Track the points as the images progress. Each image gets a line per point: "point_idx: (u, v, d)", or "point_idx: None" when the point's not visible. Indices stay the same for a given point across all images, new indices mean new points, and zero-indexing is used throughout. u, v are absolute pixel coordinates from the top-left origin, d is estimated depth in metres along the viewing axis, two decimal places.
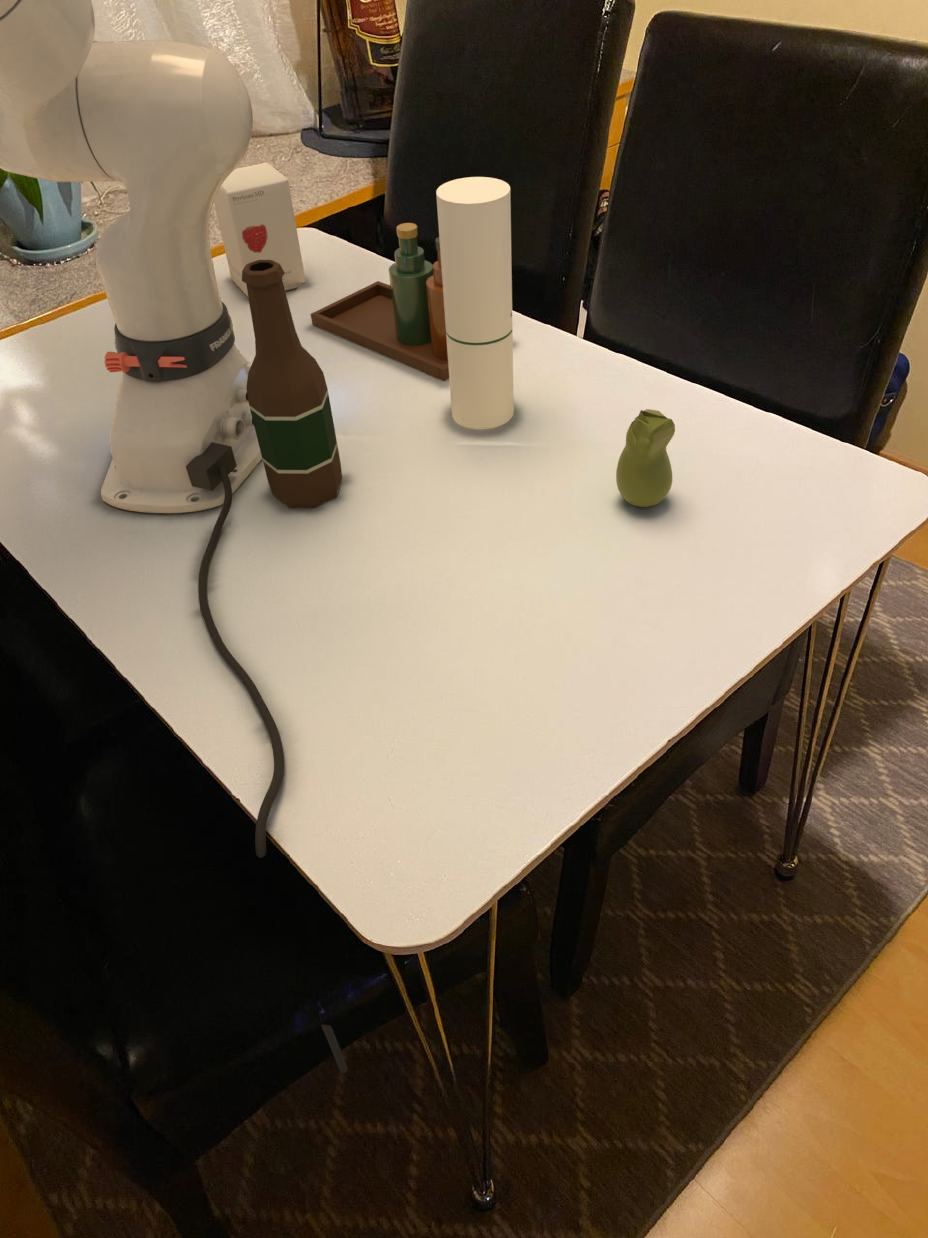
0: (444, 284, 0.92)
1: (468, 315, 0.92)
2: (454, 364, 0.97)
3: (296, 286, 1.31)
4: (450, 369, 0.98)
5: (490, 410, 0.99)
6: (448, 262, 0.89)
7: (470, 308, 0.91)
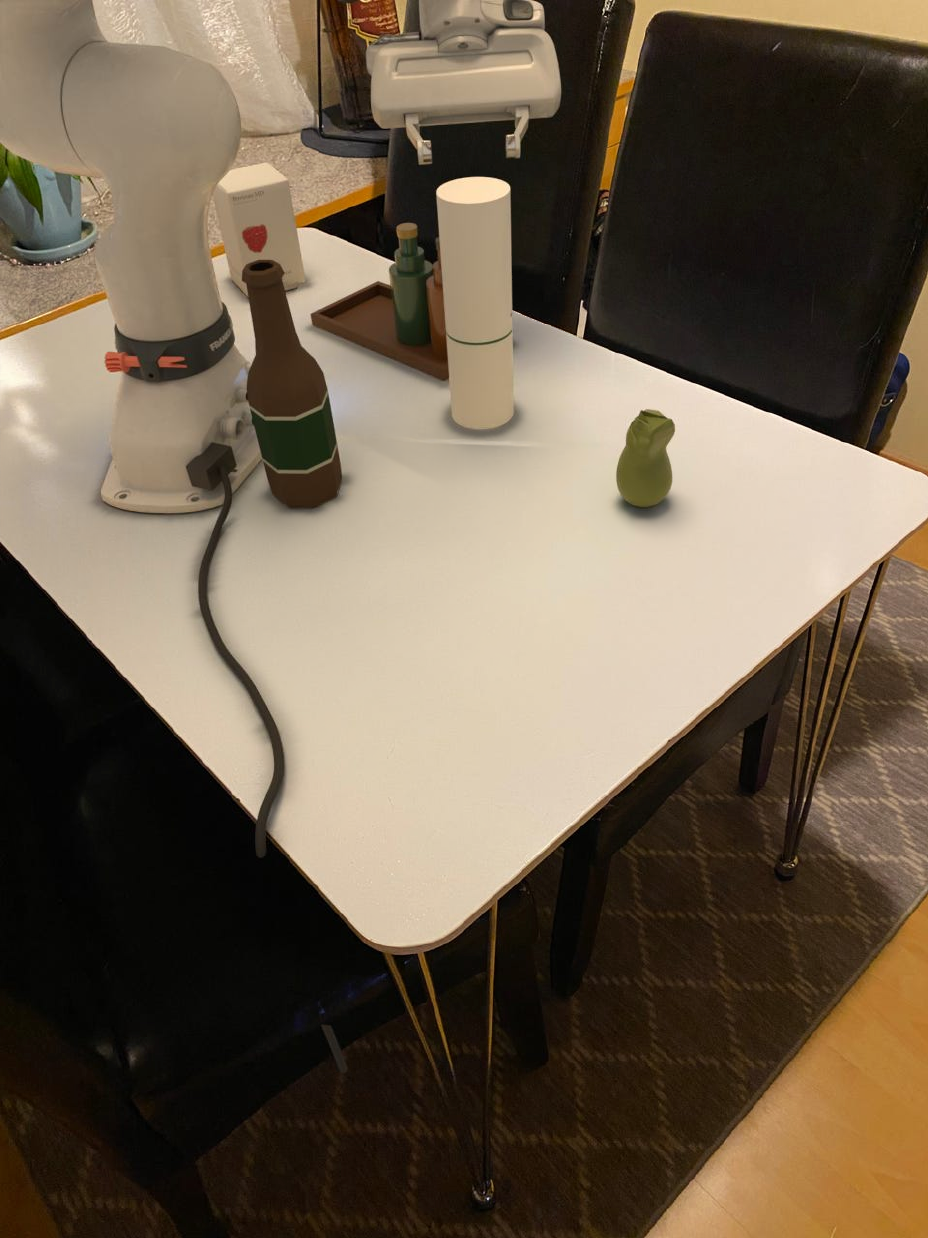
0: (444, 284, 0.92)
1: (468, 315, 0.92)
2: (454, 364, 0.97)
3: (296, 286, 1.31)
4: (450, 369, 0.98)
5: (490, 410, 0.99)
6: (448, 261, 0.89)
7: (470, 308, 0.91)
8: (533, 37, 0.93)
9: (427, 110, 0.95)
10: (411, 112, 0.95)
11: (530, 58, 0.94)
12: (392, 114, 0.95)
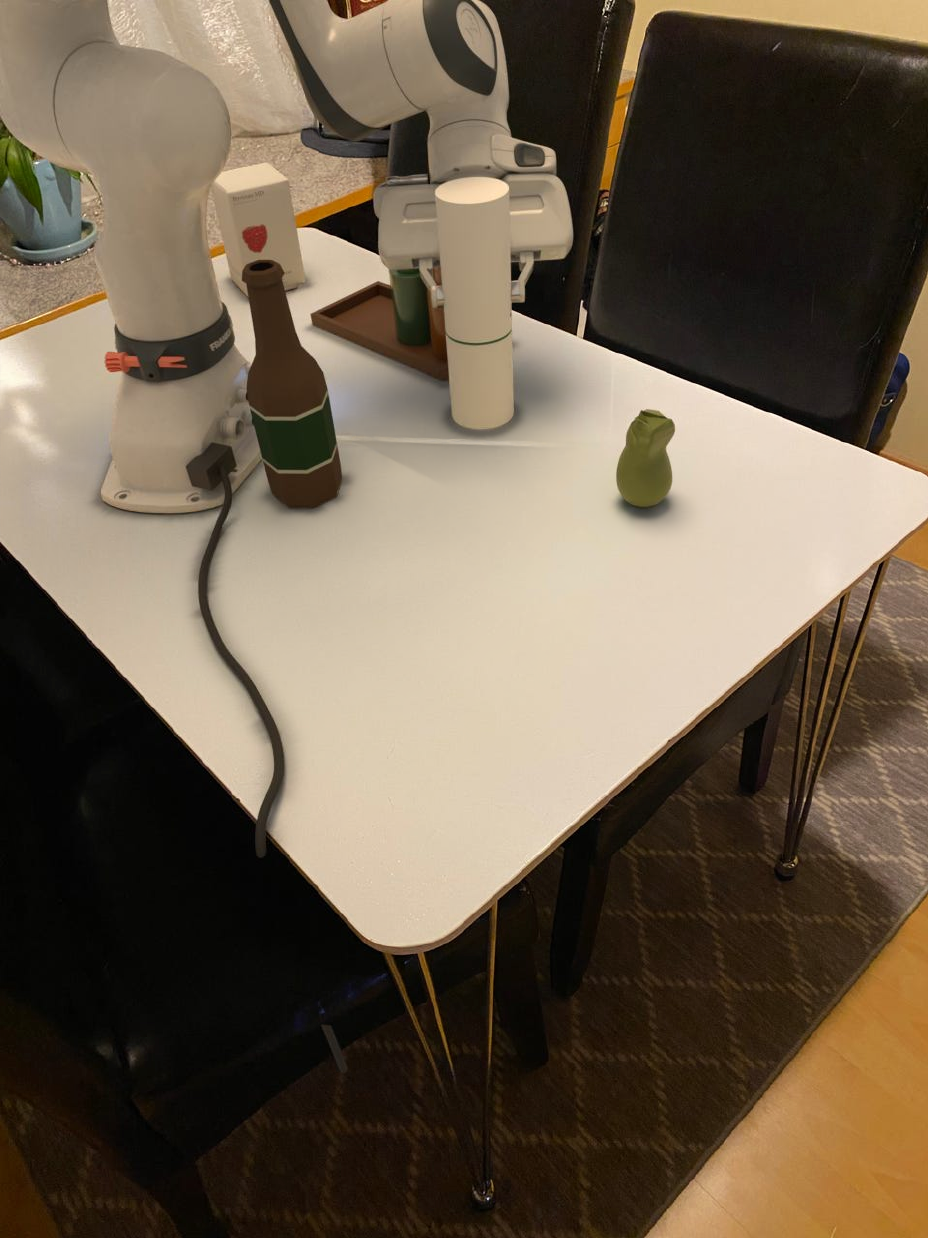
0: (443, 284, 0.92)
1: (467, 315, 0.92)
2: (454, 364, 0.97)
3: (296, 286, 1.31)
4: (450, 369, 0.98)
5: (490, 410, 0.99)
6: (447, 262, 0.89)
7: (469, 309, 0.91)
8: (545, 183, 0.91)
9: (436, 255, 0.92)
10: (419, 257, 0.92)
11: (542, 203, 0.92)
12: (400, 259, 0.93)
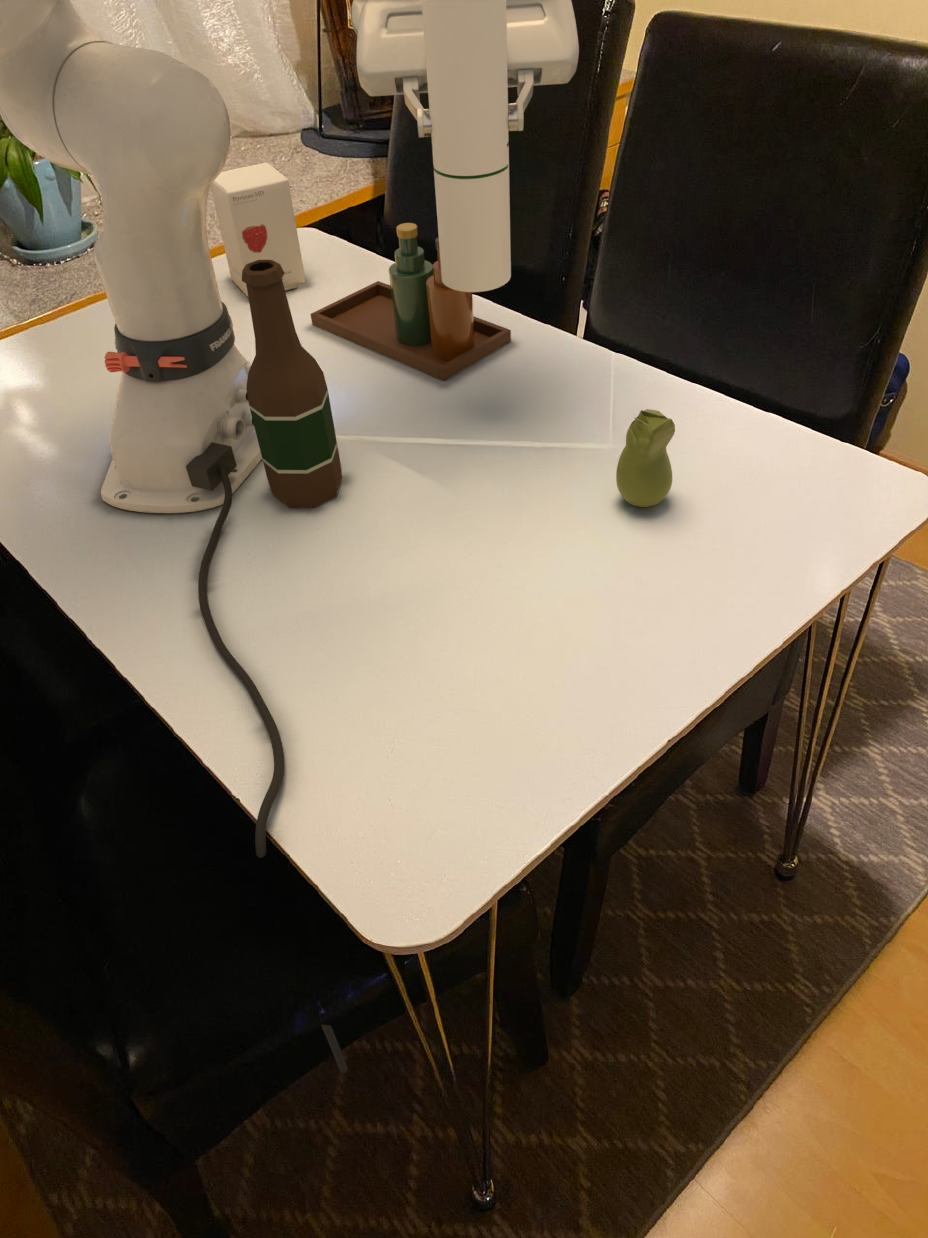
0: (430, 104, 0.80)
1: (458, 141, 0.80)
2: (443, 206, 0.85)
3: (296, 286, 1.31)
4: (439, 214, 0.87)
5: (484, 263, 0.88)
6: (435, 73, 0.77)
7: (460, 131, 0.80)
8: None
9: (422, 74, 0.81)
10: (403, 76, 0.81)
11: (543, 13, 0.81)
12: (381, 79, 0.81)
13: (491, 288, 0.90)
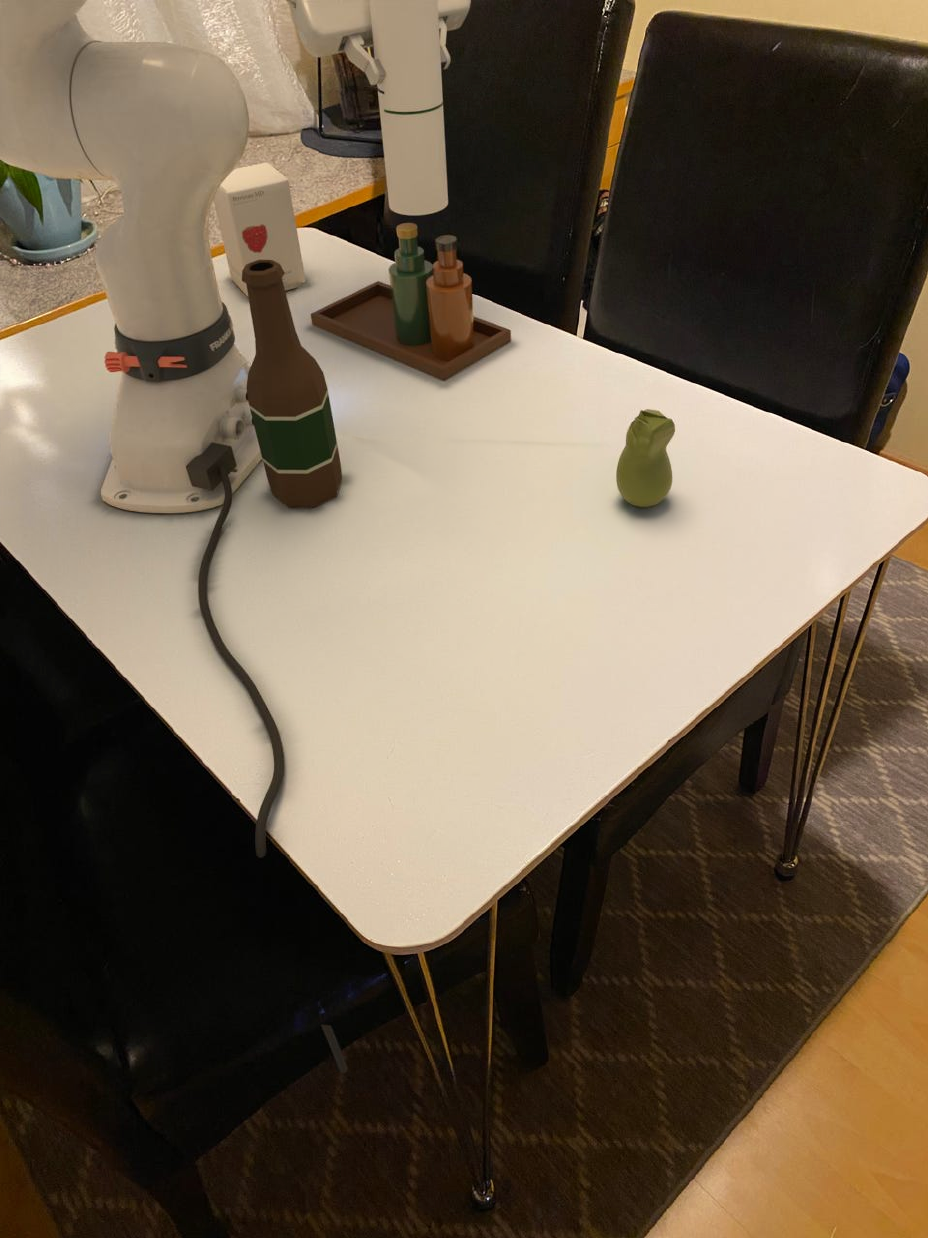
0: (384, 53, 0.95)
1: (416, 80, 0.96)
2: (401, 141, 1.00)
3: (296, 286, 1.31)
4: (394, 151, 1.01)
5: (438, 185, 1.04)
6: (392, 24, 0.92)
7: (417, 72, 0.95)
8: None
9: (364, 30, 0.95)
10: (350, 34, 0.94)
11: None
12: (332, 39, 0.94)
13: (443, 207, 1.07)
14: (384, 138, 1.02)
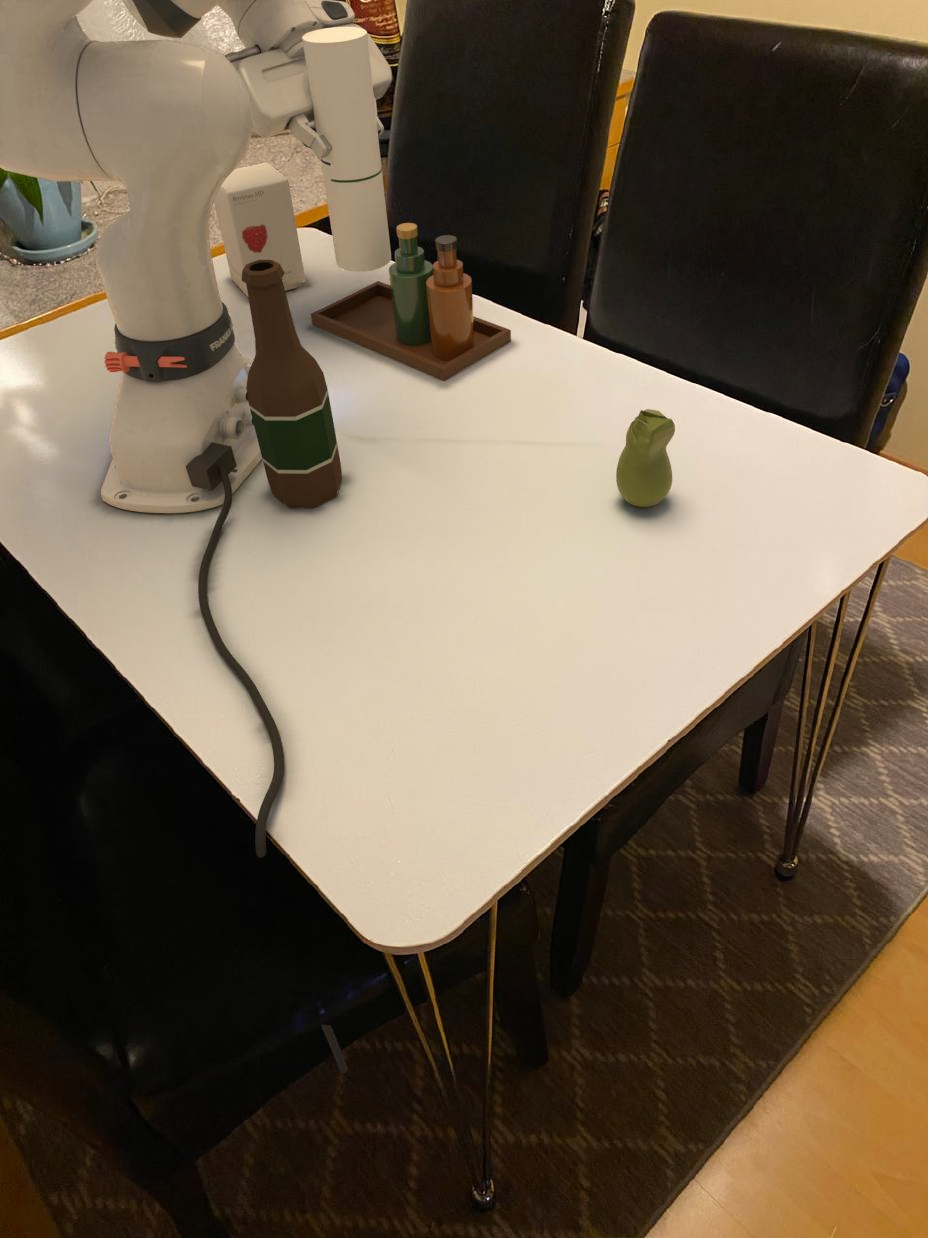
0: (329, 130, 1.02)
1: (361, 151, 1.04)
2: (350, 206, 1.08)
3: (296, 286, 1.31)
4: (343, 215, 1.09)
5: (384, 242, 1.13)
6: (336, 103, 1.00)
7: (362, 143, 1.04)
8: None
9: (307, 110, 1.02)
10: (295, 114, 1.02)
11: None
12: (281, 120, 1.01)
13: (389, 261, 1.15)
14: (331, 204, 1.09)
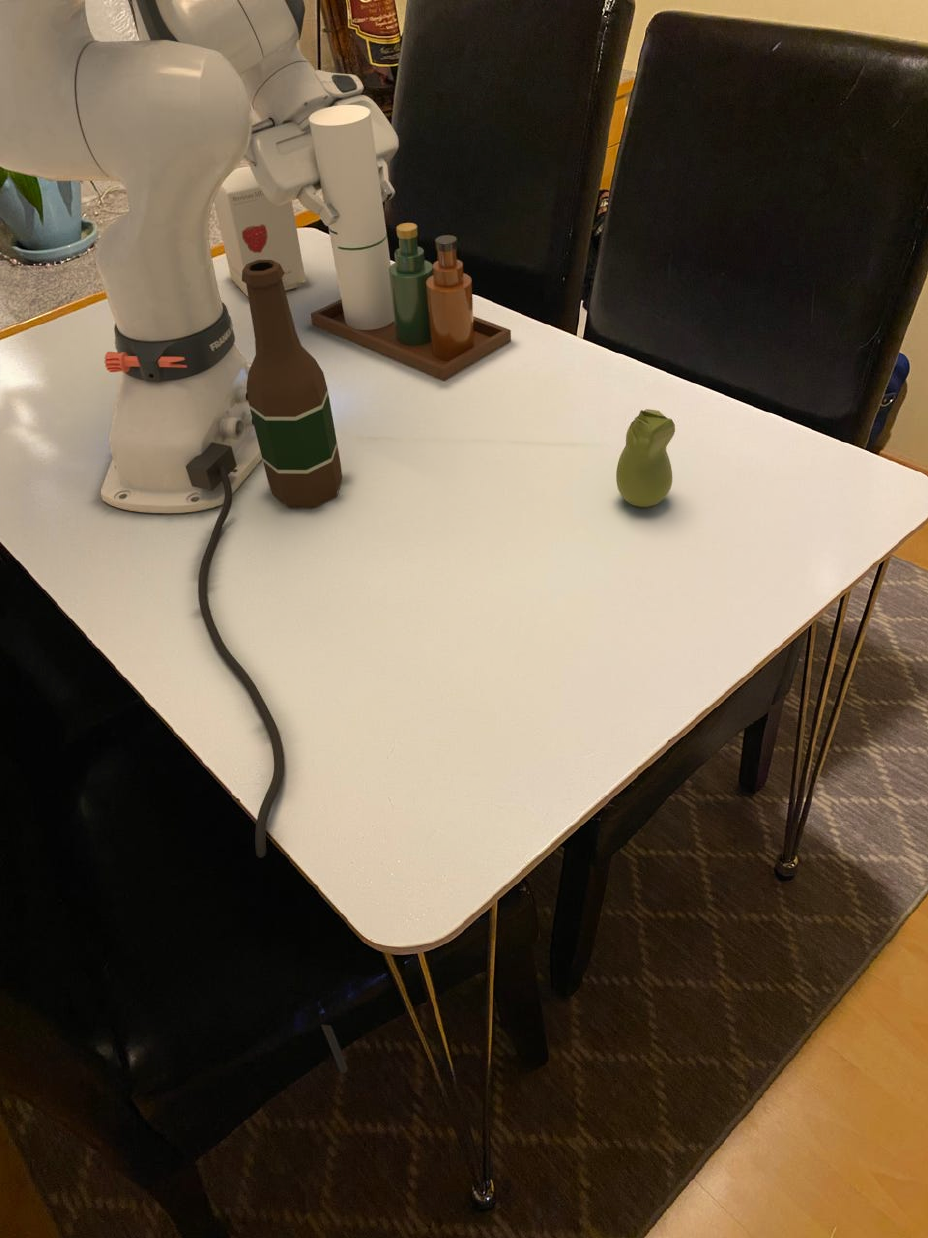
0: (336, 203, 1.08)
1: (366, 221, 1.09)
2: (356, 271, 1.14)
3: (296, 286, 1.31)
4: (350, 279, 1.15)
5: (390, 301, 1.18)
6: (342, 179, 1.06)
7: (366, 214, 1.09)
8: (362, 102, 1.12)
9: (318, 179, 1.07)
10: (308, 184, 1.07)
11: None
12: (294, 190, 1.06)
13: None
14: (339, 269, 1.15)
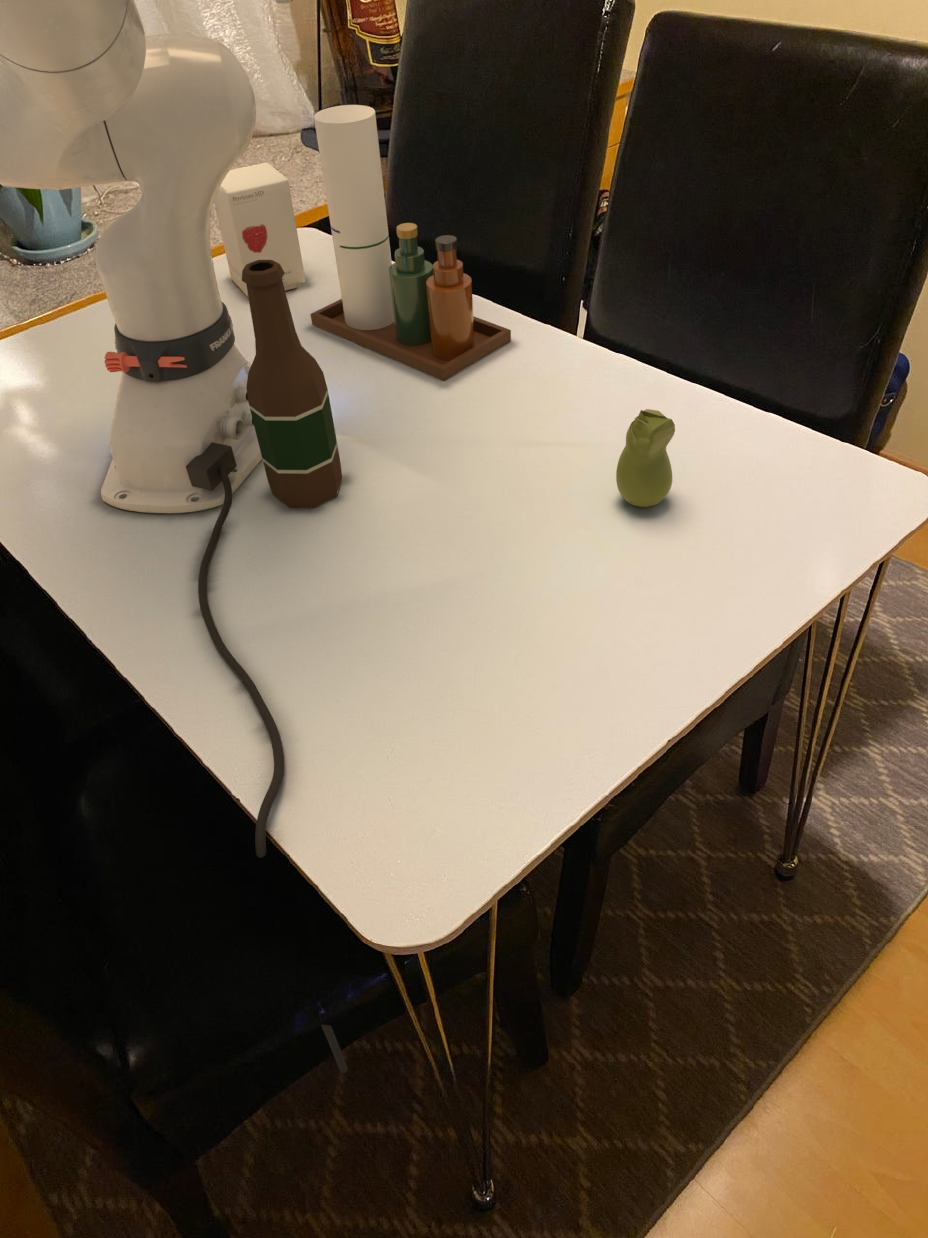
0: (339, 201, 1.08)
1: (368, 220, 1.10)
2: (358, 271, 1.14)
3: (296, 286, 1.31)
4: (351, 279, 1.15)
5: (390, 302, 1.18)
6: (346, 178, 1.06)
7: (369, 213, 1.09)
8: None
9: None
10: None
11: None
12: None
13: None
14: (340, 268, 1.15)
